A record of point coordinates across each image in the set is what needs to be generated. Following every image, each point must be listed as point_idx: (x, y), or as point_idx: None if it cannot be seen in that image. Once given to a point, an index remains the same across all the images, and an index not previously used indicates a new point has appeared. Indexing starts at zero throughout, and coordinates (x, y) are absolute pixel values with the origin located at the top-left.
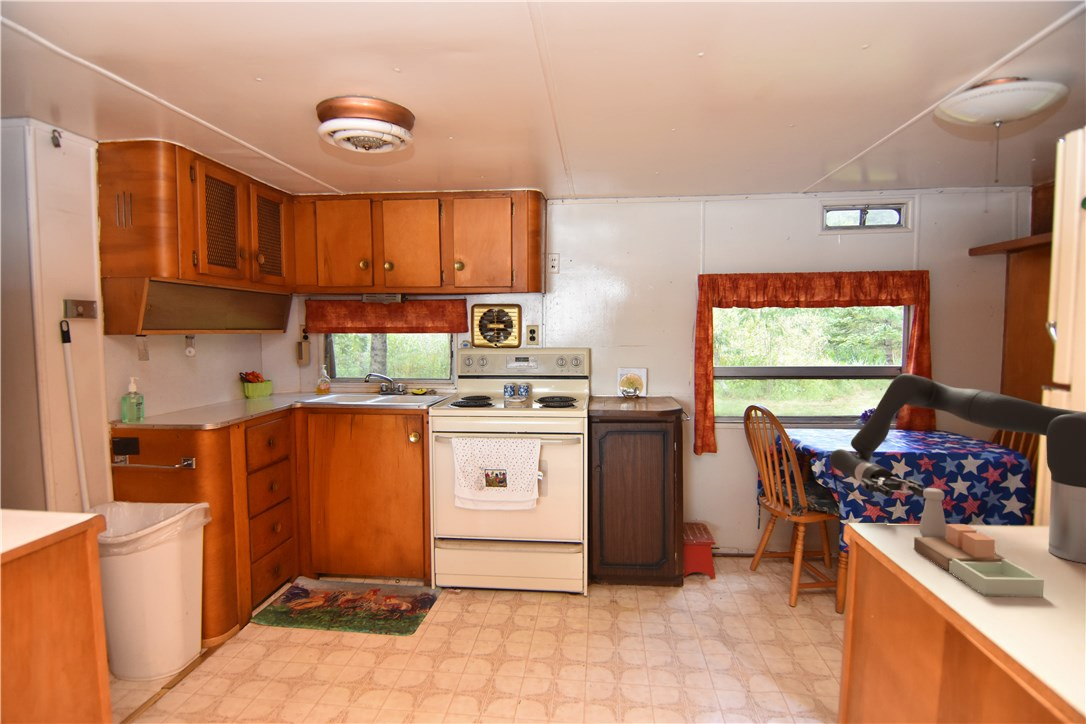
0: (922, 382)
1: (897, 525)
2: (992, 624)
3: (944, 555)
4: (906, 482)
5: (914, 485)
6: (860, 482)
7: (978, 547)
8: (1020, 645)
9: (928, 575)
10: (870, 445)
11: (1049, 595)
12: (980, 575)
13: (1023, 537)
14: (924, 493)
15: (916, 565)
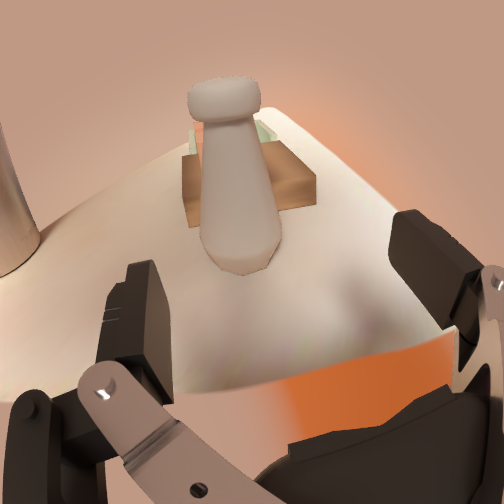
0: None
1: (331, 356)
2: (279, 122)
3: (281, 144)
4: (174, 422)
5: (119, 364)
6: None
7: None
8: (272, 116)
9: (313, 153)
10: None
11: (180, 156)
12: (260, 121)
13: None
14: (259, 91)
15: (325, 166)
